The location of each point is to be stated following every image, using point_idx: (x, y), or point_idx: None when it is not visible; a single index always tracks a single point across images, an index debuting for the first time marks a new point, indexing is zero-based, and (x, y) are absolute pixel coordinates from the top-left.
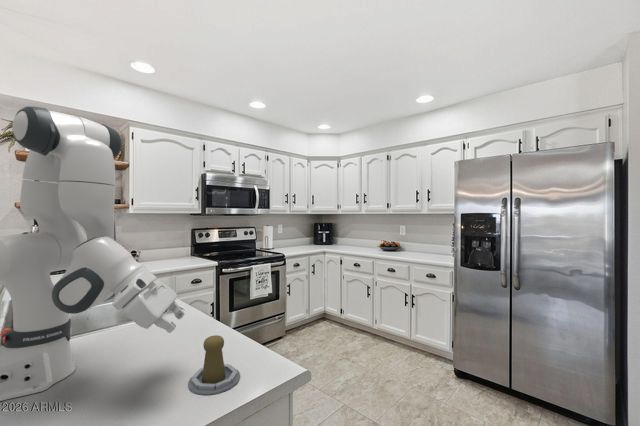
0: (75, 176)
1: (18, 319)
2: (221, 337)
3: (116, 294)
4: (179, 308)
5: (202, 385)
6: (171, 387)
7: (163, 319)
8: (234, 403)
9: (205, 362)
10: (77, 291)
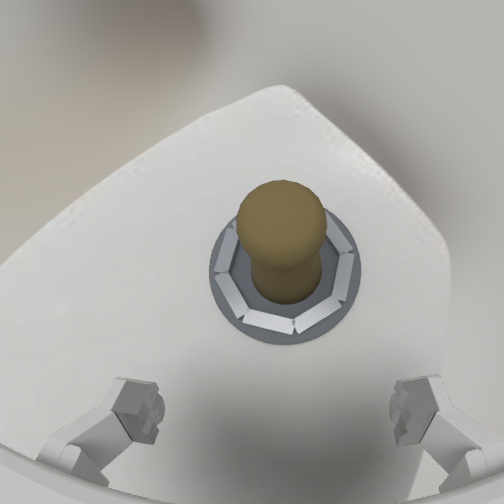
0: None
1: None
2: (277, 182)
3: None
4: (98, 417)
5: (344, 289)
6: (298, 391)
7: (501, 444)
8: (398, 205)
9: (304, 274)
10: None
